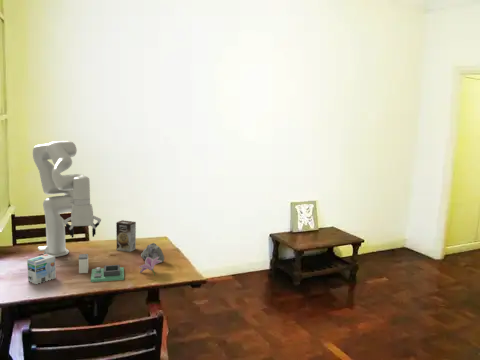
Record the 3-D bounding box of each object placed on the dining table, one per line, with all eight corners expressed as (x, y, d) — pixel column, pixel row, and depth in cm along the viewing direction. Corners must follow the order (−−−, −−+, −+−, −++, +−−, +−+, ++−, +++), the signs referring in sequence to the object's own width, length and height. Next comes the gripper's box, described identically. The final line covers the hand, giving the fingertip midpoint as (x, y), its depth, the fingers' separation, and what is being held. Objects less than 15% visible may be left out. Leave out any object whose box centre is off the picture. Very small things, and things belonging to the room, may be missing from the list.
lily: (166, 272, 238) (159, 254, 239) (166, 271, 226) (159, 252, 228) (143, 281, 235) (136, 263, 237) (141, 280, 224) (135, 261, 225)
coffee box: (116, 250, 266) (115, 222, 263) (122, 246, 272) (121, 219, 269) (130, 252, 264) (130, 224, 261) (136, 248, 270) (136, 221, 267)
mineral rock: (140, 257, 255) (140, 239, 253) (159, 255, 259) (159, 238, 257) (144, 265, 243) (144, 246, 242) (165, 263, 247) (165, 245, 246)
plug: (79, 273, 230) (78, 257, 229) (79, 269, 235) (79, 254, 234) (87, 272, 231) (87, 257, 230) (88, 269, 236) (87, 253, 235)
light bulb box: (36, 285, 215) (35, 262, 213) (27, 281, 218) (26, 259, 216) (56, 278, 224) (55, 256, 222) (47, 274, 227) (46, 253, 225)
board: (90, 282, 220) (90, 274, 219) (92, 271, 233) (92, 264, 232) (124, 279, 224) (123, 272, 223) (123, 269, 237) (123, 262, 236)
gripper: (62, 204, 221) (63, 239, 224) (100, 203, 226) (101, 237, 229) (63, 201, 229) (65, 235, 231) (100, 200, 233) (101, 233, 236)
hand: (83, 236), depth 230 cm, fingers open, 9 cm apart
